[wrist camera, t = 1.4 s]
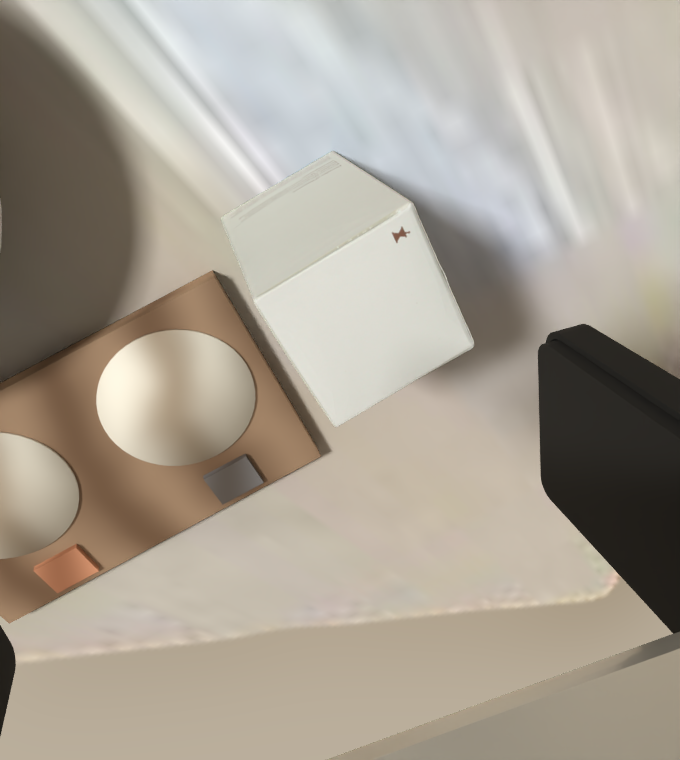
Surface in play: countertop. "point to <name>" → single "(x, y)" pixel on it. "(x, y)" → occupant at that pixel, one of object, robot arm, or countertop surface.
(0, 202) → the serving bowl
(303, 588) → the countertop surface
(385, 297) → the supplement box
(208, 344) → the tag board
